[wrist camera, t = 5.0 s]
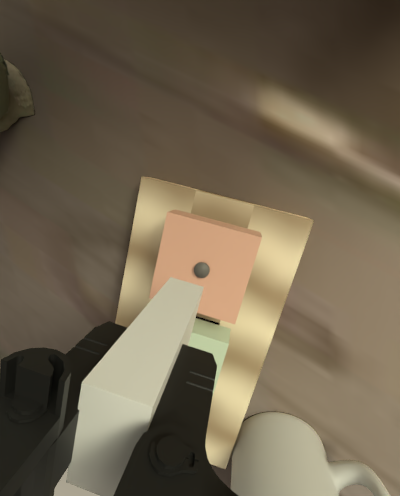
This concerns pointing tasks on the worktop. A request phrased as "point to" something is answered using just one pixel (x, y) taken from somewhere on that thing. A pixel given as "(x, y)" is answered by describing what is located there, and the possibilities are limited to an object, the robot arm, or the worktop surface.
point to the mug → (291, 461)
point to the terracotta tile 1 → (207, 261)
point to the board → (254, 301)
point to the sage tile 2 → (211, 341)
